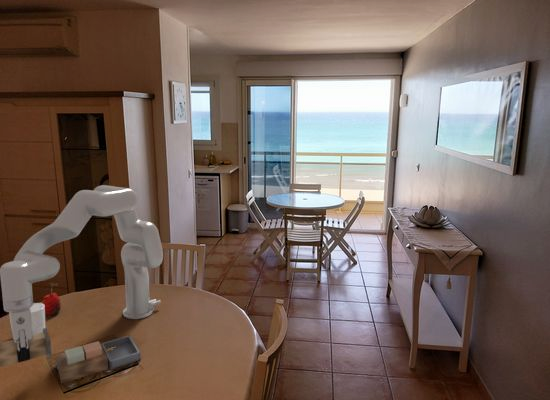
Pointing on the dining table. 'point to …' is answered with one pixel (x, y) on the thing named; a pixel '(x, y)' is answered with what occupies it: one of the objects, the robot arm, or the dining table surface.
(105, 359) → the wooden block
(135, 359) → the tray
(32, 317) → the white cup
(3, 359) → the scraper
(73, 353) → the tile sage
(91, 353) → the tile terracotta
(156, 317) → the dining table surface
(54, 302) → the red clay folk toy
